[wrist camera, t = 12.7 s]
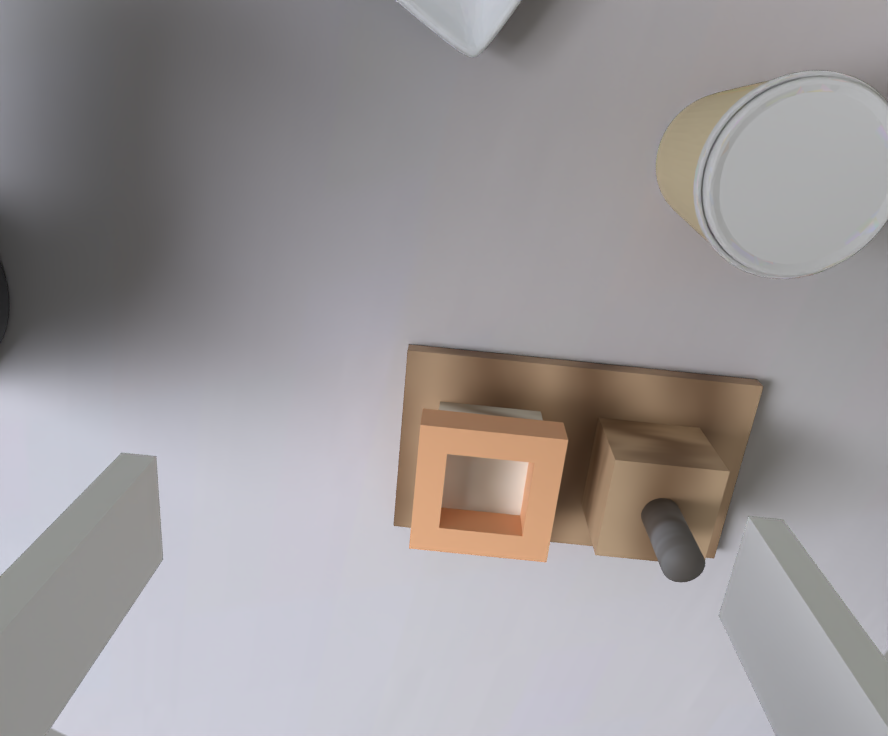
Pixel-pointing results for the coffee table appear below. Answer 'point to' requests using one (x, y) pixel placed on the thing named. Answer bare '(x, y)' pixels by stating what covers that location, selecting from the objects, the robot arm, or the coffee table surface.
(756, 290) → the coffee table surface
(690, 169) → the coffee cup
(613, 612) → the coffee table surface
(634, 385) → the stand
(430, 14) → the tray
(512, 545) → the square frame
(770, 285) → the coffee table surface
